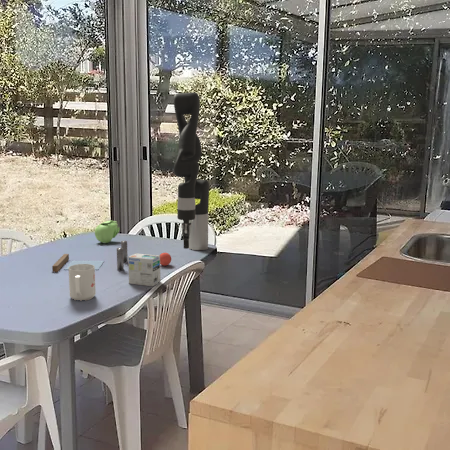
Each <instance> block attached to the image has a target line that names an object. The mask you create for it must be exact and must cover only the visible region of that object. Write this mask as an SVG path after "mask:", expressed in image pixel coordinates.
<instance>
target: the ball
mask: <svg viewBox="0 0 450 450" xmlns="http://www.w3.org/2000/svg"><path fill="white" fill-rule="evenodd" d="M159 255H160V266H164V267H165V266H168V265H170V264H171V262H172V256H171V255H170V254H169V253H168V252H162V253H160V254H159Z"/></svg>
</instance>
